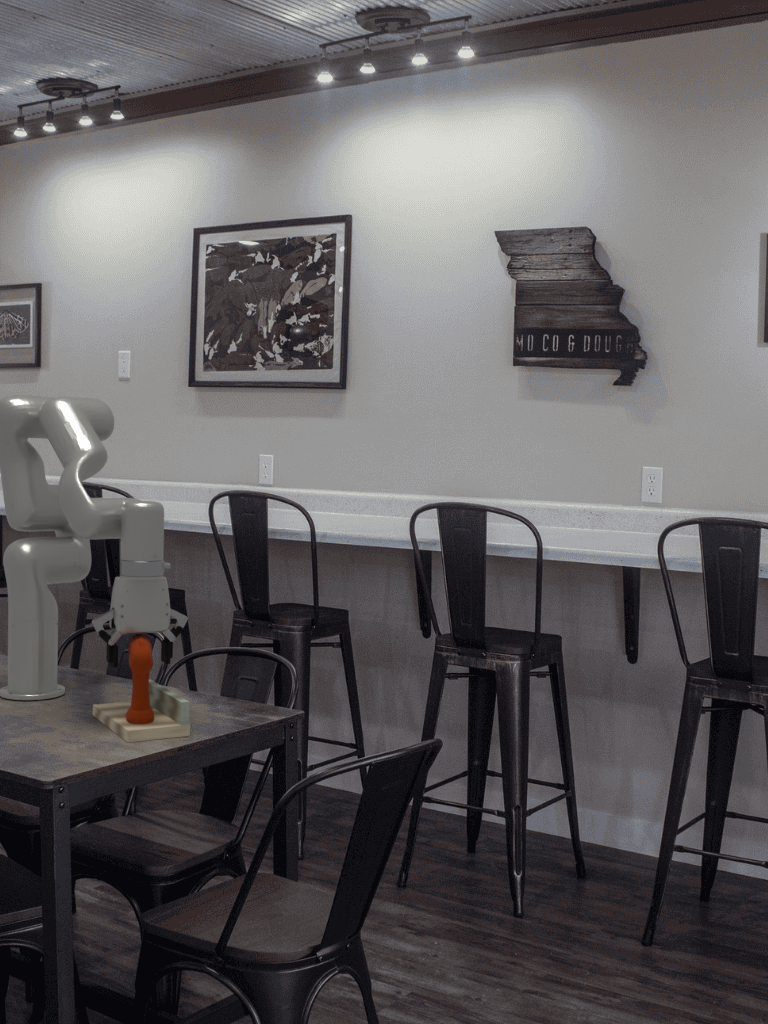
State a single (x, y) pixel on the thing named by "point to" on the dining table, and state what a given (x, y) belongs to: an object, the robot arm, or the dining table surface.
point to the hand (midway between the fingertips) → (139, 664)
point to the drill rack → (167, 716)
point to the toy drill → (140, 680)
